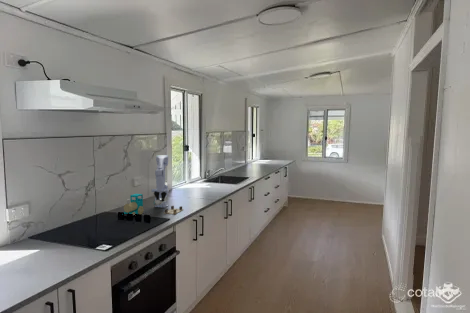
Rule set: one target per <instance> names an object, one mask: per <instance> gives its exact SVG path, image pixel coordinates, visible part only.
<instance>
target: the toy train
mask: <svg viewBox="0 0 470 313" xmlns="http://www.w3.org/2000/svg"><path fill="white" fill-rule="evenodd" d="M143 195H144V194H142V193H134V194H130V195H129V196H130V197H129V198H127V199H126V203H125V204H124V205H123V213H124V214H128V213H129V214H133V215H135V214H137V215H143V213H144V210H145V209H144V201H143V200H144V199H143ZM139 197H141V198H139ZM133 198H135V199H133ZM135 216H136V215H135Z"/></svg>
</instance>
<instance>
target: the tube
mask: <svg viewBox="0 0 470 313" xmlns="http://www.w3.org/2000/svg"><path fill="white" fill-rule="evenodd" d="M166 201H167V202H168V198H166V197H165V199H164V201H163V202H162V198H160V199H158V200H156V201H155V200H154V201H153V202H152V203H153V205H154V206H157V205H159V204H162V203H164V202H166Z"/></svg>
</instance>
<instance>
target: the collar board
mask: <svg viewBox="0 0 470 313" xmlns="http://www.w3.org/2000/svg"><path fill="white" fill-rule="evenodd" d="M182 211H184V208H183V206H182V205H181V206H179V208H175V206H174V205H170V208H165V209H164V212H163V215H164V214H165V215H166V214H167V215H177V214H178V213H180V212H182Z"/></svg>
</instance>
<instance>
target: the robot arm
mask: <svg viewBox="0 0 470 313" xmlns="http://www.w3.org/2000/svg"><path fill="white" fill-rule="evenodd" d="M155 161H156V169H155V173H154V174H155V185H156V187H155V188H151V193H153V195H154V201H156V200H158V199H160V198H162V202H163V201H164V199H165V197H166V198H167V197H168V196H169V193H170V190H169V186H168V185H167V184H166V167H168V164H169V155H168V154H159V155H158V154H157V155H156V156H155ZM167 199H168V198H167ZM167 202H168V200H167V201H166V202H164V203H162V204H159V205H157V206H155V205H154V207H155V208H162V209H164V208H165V209H166V207H169V204H168V203H167Z"/></svg>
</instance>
